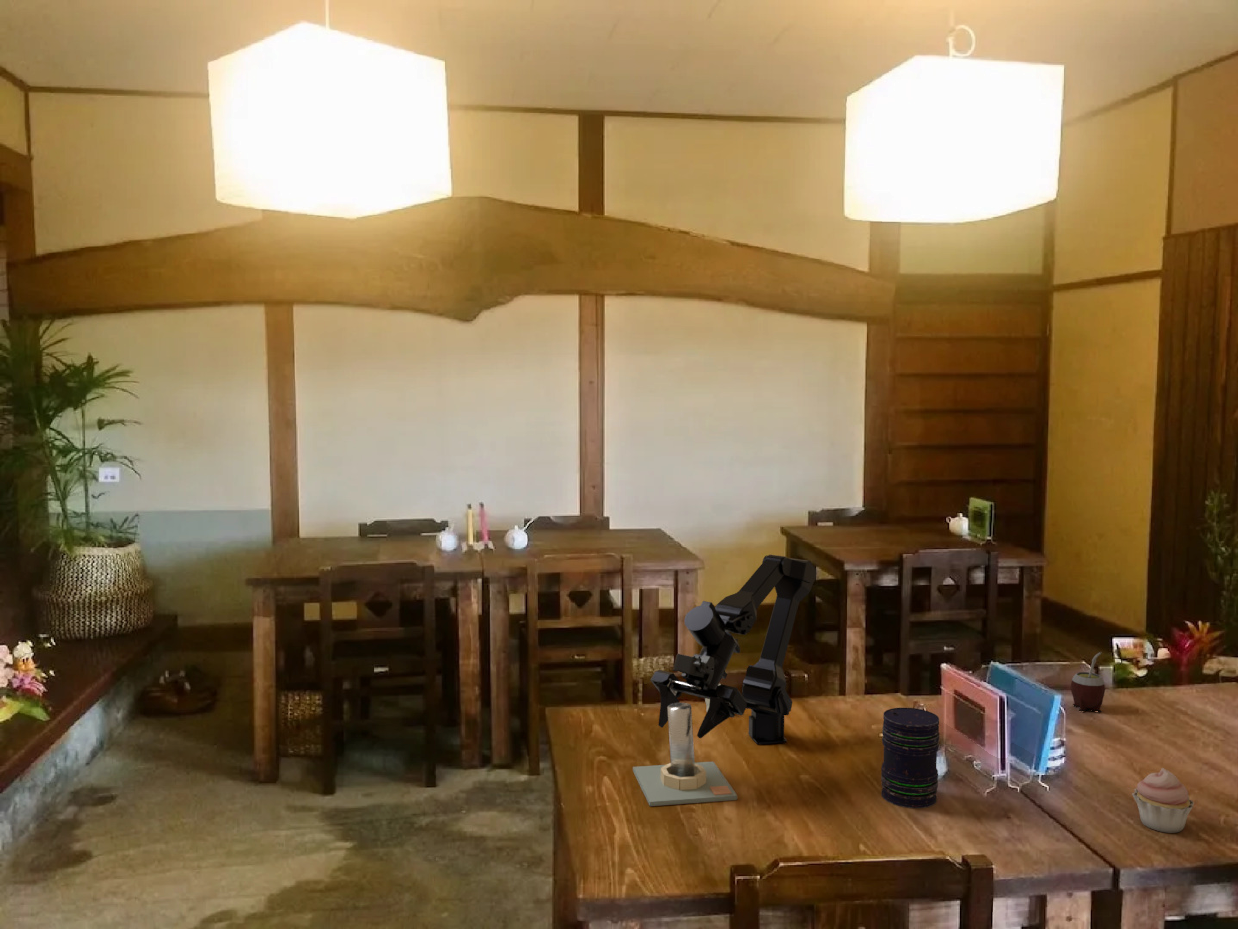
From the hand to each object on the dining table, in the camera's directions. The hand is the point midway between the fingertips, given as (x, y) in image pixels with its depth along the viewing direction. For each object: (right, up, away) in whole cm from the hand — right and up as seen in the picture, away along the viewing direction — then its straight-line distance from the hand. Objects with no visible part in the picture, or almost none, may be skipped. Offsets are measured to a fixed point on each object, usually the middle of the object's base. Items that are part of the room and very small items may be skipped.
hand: (679, 731), depth 183 cm
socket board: (+1, -10, +2) cm, 11 cm away
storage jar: (+41, -11, -3) cm, 43 cm away
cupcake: (+81, -12, -14) cm, 83 cm away
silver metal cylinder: (+1, -9, +2) cm, 10 cm away
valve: (+10, -7, +45) cm, 47 cm away
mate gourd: (+96, -7, +44) cm, 106 cm away
